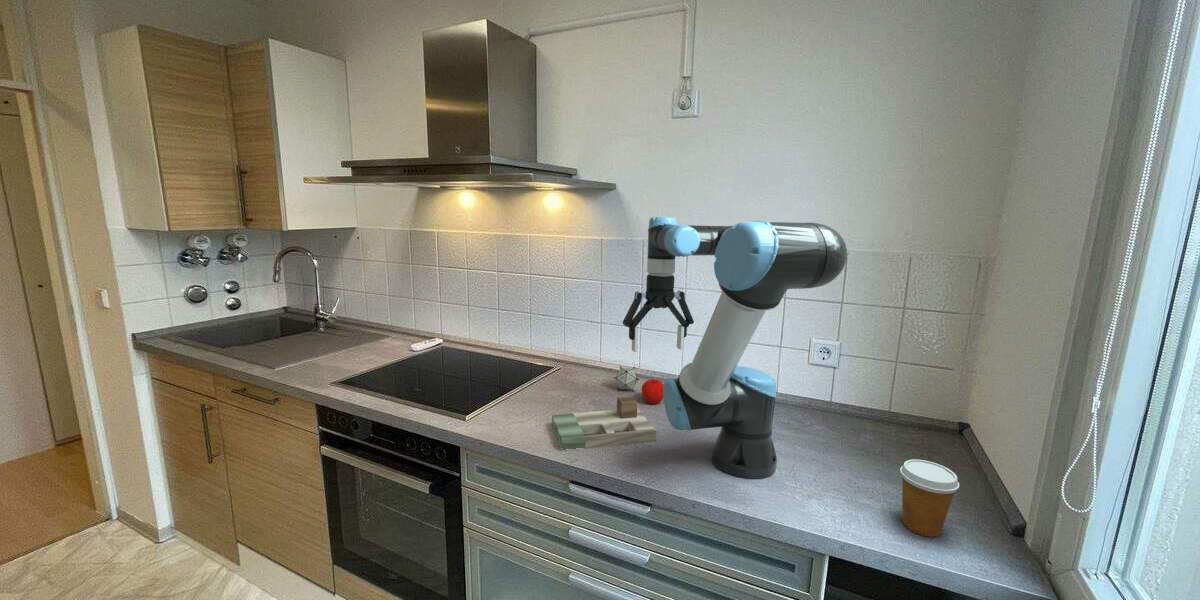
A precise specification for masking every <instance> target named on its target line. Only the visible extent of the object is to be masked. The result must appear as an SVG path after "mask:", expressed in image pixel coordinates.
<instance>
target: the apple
mask: <svg viewBox="0 0 1200 600" xmlns="http://www.w3.org/2000/svg"><path fill="white" fill-rule="evenodd" d="M663 386H664V383H663V382H662V381H661V380H659V379H654V378H652V379H648V380H646V381H645V382H644V383H643V384H642V386H641V389H640V390H641V395H642V396H643V398H644V400H645V401H646V402H648V404H653V405H658V404H659V403H662V401H664V400H663Z"/></svg>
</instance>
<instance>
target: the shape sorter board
mask: <svg viewBox="0 0 1200 600" xmlns="http://www.w3.org/2000/svg"><path fill="white" fill-rule="evenodd" d="M551 426H553V427H552V429H553V431H555V432H554V433H555V436H557V437H556V439H557V441H559V442H558V444H559V443H560V444H559V447H560V446H561V447H560V449H561V448H562V450H565V451H567V450H566V449H575V450H577V449H576V448H584V449H591V448H590V447H594V448H602V447H601V446H603V447H610V446H612V447H613V446H619V445H621V446H622V445H630V444H638V443H641V444H642V443H649V442H656V439H657V437H656V436H657V434H656V433H657V429H656V428H655V427H654V426H653V425H652V424H651V423H650V422H649V420H648V419H647V418H646V417H645V416H644V414H643V413H642V412H641V411H640V409H639V408H637V417H636V418H625V419H621V418H620V416H619V415H618V413H617V409H608V410H596V411H587V412H585V411H584V412H573V413H563V414H562V413H561V414H560V413H559V414H552V415H551ZM562 450H561V451H562Z"/></svg>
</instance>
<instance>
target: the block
mask: <svg viewBox="0 0 1200 600" xmlns="http://www.w3.org/2000/svg"><path fill="white" fill-rule="evenodd" d="M637 409H638V400H636V399H635V398H634V396H633V395H629V396H618V397H616V410H617V413H618V415H619V416H620V418H621V419H625V418H636V417H637Z"/></svg>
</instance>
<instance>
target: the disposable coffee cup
mask: <svg viewBox="0 0 1200 600" xmlns="http://www.w3.org/2000/svg"><path fill="white" fill-rule="evenodd" d="M899 472H900V474H901V477H902V478H901V485H902V486H901V492H902V493H901V494H902V497H901V499H902V500H901V502H902V505H901V507H902V509H901V511H902V513H901V515H902V520H901V521H902V524H903V525H905V526H906V527H905V526H904V527H905V528H906V529H908V530H909V529H910V530H909V531H911V532H912V531H913V532H912V533H915V534H917V533H918V534H917V535H919V534H921V535H920V536H923V535H924V536H923V537H927V536H929V538H935V537H934V536H936V537H939V536H940V535H941V532H942V529H943V526H944V524H945V521H946V519H947V516H948V515H947V514H948V512H949V511H950V506H951V504H952V500H953V498H954V496H955V492H956V491H958V489H959V487H960V482H959V481H958V476H957V474H956V473H955V472H953V471H952V470H951V469H950V468H948V467H946V466H944V465H941V464H939V463H936V462H933V461H930V460H924V459H909V460H906V461H904V463H903V465H902V466H901V467H900V469H899Z"/></svg>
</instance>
